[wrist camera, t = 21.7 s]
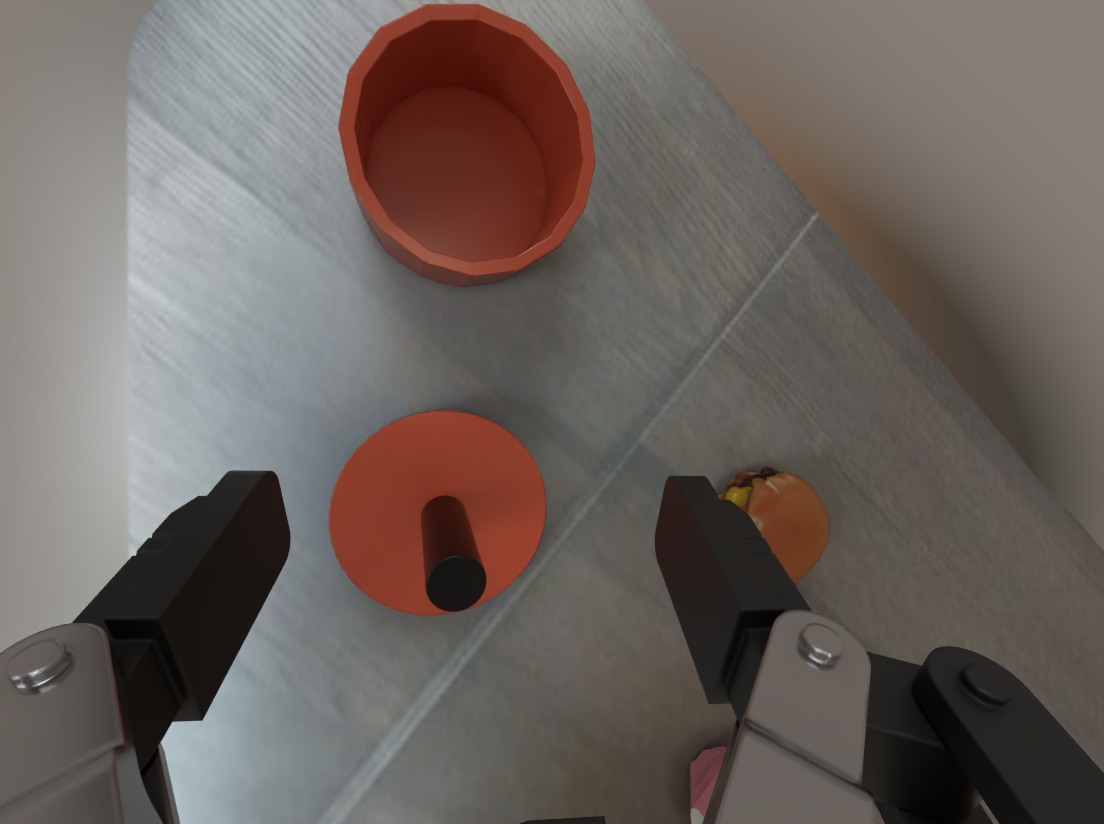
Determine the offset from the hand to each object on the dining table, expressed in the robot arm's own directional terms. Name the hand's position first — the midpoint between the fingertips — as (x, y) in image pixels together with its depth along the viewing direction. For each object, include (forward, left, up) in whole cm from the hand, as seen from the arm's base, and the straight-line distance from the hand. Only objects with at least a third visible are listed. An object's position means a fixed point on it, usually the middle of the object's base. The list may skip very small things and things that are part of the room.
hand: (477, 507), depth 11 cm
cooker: (+4, +12, -24) cm, 27 cm away
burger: (+23, -16, -24) cm, 37 cm away
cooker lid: (-1, -8, -22) cm, 23 cm away
